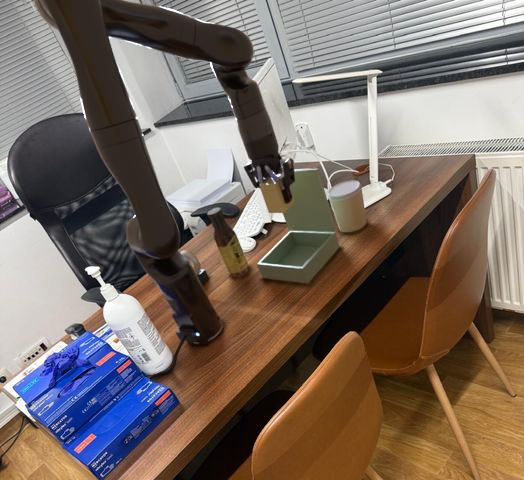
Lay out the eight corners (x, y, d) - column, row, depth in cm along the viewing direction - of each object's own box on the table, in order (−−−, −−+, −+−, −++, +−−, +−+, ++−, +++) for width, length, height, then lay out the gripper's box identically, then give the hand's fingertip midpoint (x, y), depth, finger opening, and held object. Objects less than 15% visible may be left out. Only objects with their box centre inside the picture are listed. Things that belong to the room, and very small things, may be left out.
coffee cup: (374, 217, 130) (366, 178, 122) (362, 235, 125) (352, 195, 118) (345, 218, 135) (335, 181, 128) (331, 236, 130) (321, 198, 123)
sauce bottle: (248, 276, 130) (220, 214, 118) (228, 280, 132) (200, 220, 120) (252, 264, 135) (226, 203, 122) (233, 268, 137) (206, 208, 125)
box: (308, 285, 116) (302, 268, 113) (263, 279, 126) (256, 264, 123) (340, 249, 124) (335, 232, 120) (295, 246, 134) (289, 230, 130)
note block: (284, 213, 111) (274, 184, 107) (268, 213, 114) (258, 185, 110) (295, 202, 114) (286, 174, 109) (279, 202, 117) (270, 175, 112)
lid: (316, 169, 109) (326, 159, 111) (267, 173, 119) (278, 163, 121) (334, 231, 120) (343, 220, 122) (288, 230, 130) (297, 220, 132)
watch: (195, 276, 141) (179, 246, 135) (213, 278, 136) (197, 247, 130) (183, 287, 139) (167, 257, 132) (201, 289, 134) (185, 258, 127)
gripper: (225, 143, 105) (250, 210, 116) (271, 137, 96) (294, 210, 107) (244, 129, 109) (267, 195, 119) (291, 122, 100) (311, 194, 110)
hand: (280, 201), depth 113 cm, fingers closed on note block, 5 cm apart
